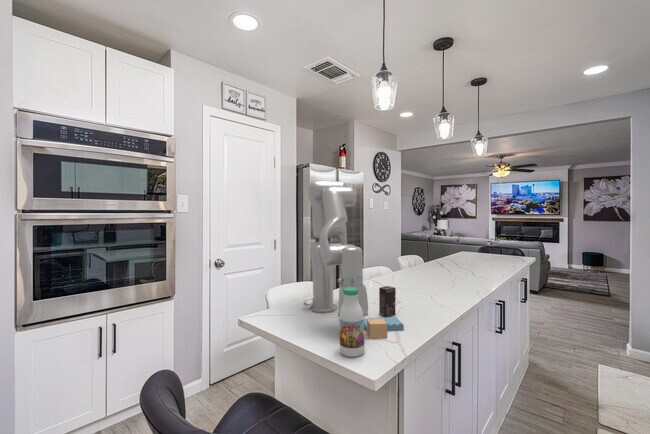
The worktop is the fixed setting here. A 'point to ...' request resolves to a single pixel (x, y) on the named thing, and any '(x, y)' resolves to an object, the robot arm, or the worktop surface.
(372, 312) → the worktop surface
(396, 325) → the blue flat block
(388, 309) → the box
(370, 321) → the tan block
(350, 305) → the milk bottle
